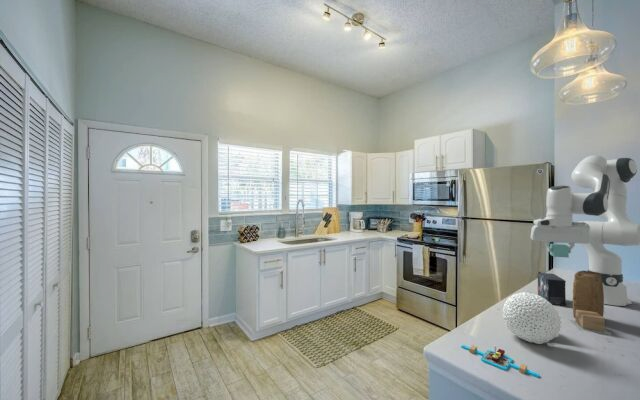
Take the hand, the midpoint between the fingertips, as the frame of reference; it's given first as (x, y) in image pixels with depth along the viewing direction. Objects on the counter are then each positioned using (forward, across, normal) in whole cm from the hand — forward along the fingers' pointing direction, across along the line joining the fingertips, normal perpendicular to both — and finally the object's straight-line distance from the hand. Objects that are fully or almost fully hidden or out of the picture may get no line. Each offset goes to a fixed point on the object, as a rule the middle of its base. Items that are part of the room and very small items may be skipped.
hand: (559, 252), depth 120 cm
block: (+26, -6, +10) cm, 29 cm away
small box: (+26, -1, -12) cm, 29 cm away
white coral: (+25, +20, +37) cm, 49 cm away
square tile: (+25, -3, +21) cm, 33 cm away
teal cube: (+2, 0, 0) cm, 2 cm away
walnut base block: (+24, -3, +21) cm, 32 cm away
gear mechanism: (+25, +32, +58) cm, 71 cm away
